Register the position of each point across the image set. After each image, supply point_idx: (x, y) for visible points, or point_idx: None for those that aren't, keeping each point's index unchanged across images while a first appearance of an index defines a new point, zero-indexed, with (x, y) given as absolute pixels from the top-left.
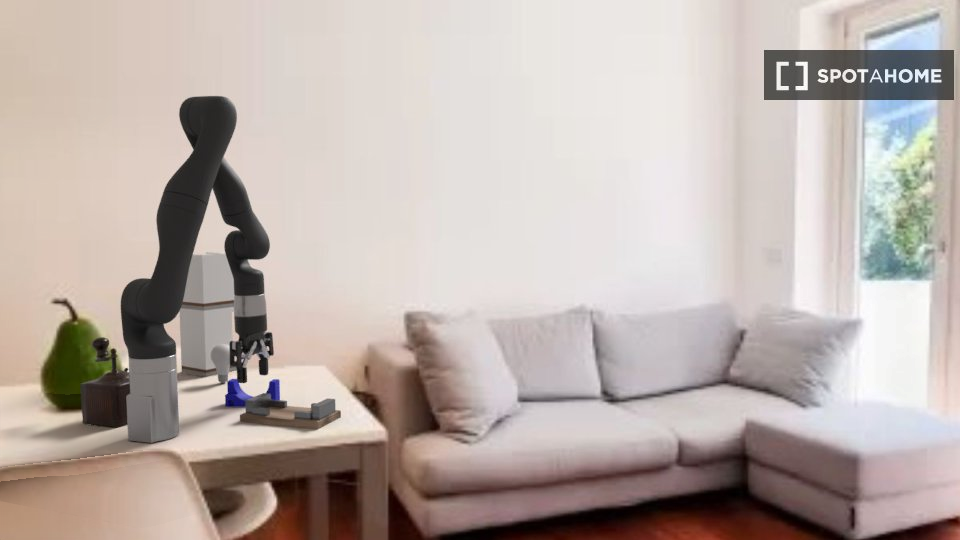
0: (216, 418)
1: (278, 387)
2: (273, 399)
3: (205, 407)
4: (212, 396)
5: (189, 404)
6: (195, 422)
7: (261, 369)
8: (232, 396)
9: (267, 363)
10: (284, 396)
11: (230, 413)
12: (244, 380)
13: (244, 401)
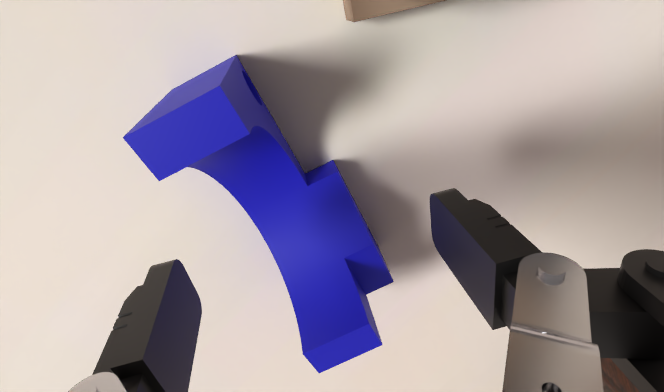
0: (553, 122)
1: (164, 106)
2: (241, 73)
3: (423, 289)
4: (291, 385)
5: (412, 353)
6: (622, 146)
7: (187, 322)
8: (378, 251)
9: (128, 336)
10: (65, 175)
11: (464, 138)
12: (461, 199)
13: (348, 192)
